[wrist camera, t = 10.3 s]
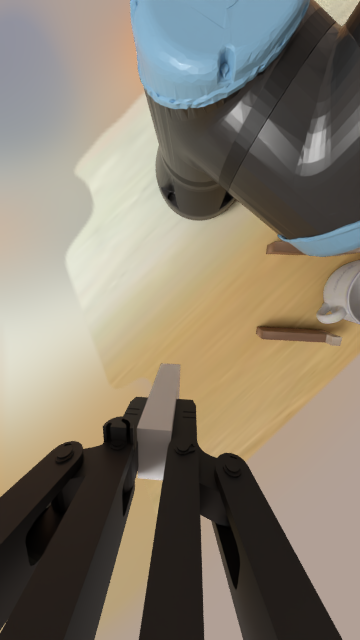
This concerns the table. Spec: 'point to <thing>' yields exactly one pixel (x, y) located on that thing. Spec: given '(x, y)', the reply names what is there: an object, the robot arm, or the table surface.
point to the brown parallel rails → (292, 333)
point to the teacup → (342, 295)
